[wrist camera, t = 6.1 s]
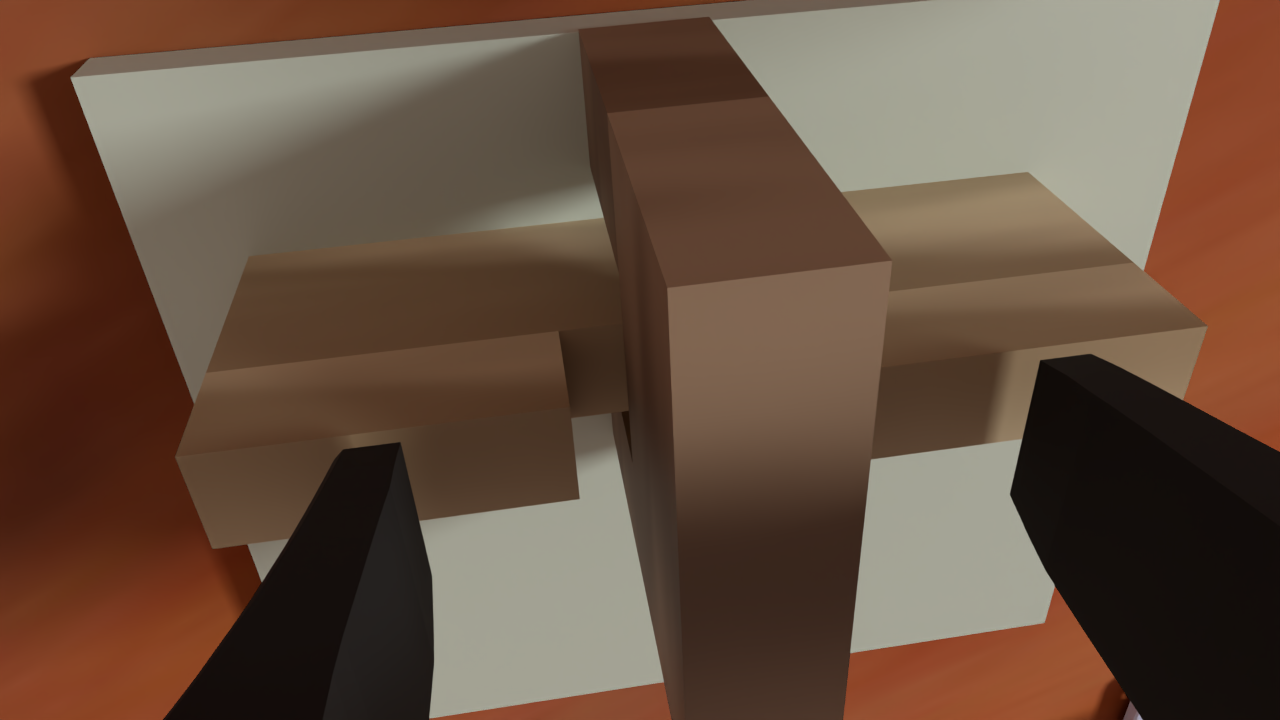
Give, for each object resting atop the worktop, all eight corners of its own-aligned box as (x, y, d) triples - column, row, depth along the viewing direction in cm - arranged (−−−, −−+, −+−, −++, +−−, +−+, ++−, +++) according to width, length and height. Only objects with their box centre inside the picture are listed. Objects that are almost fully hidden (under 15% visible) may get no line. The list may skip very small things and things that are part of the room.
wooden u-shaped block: (1013, 249, 16) (1176, 417, 13) (273, 336, 15) (212, 549, 12) (1028, 171, 16) (1207, 326, 12) (249, 256, 14) (174, 456, 11)
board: (1027, 596, 23) (1044, 622, 22) (323, 703, 21) (319, 735, 21) (1193, -39, 15) (1227, -27, 14) (89, 58, 13) (71, 77, 13)
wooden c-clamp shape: (714, 419, 17) (837, 776, 12) (613, 433, 17) (688, 800, 12) (708, 16, 14) (892, 259, 8) (578, 29, 13) (668, 287, 8)
